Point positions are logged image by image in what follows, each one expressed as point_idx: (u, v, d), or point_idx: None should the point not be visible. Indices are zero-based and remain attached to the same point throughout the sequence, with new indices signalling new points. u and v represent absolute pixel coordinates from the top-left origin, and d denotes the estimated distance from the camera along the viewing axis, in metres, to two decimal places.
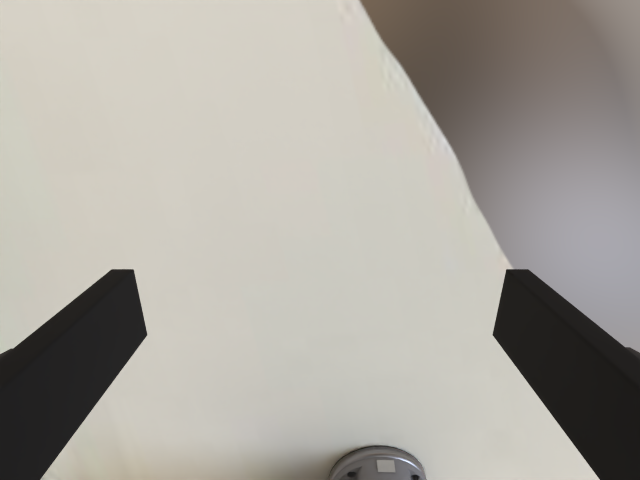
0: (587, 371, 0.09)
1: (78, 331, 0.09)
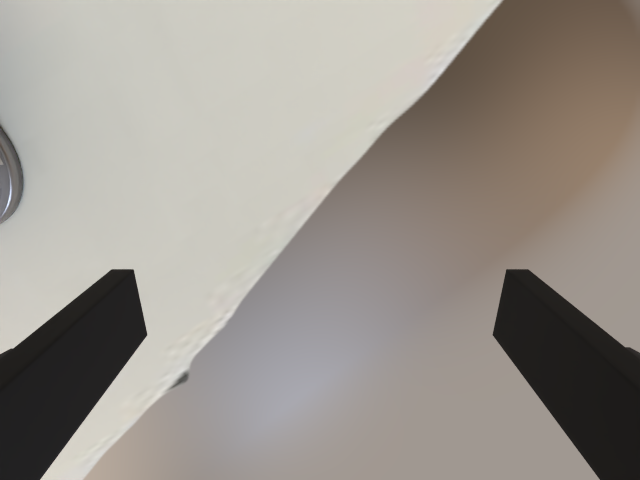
0: (587, 371, 0.09)
1: (78, 331, 0.09)
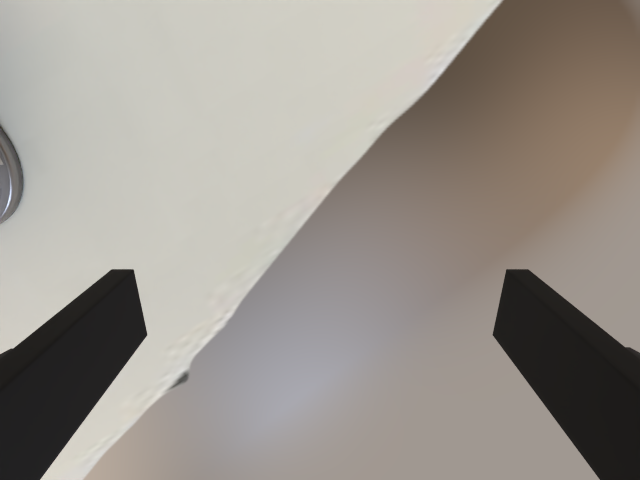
0: (587, 371, 0.09)
1: (78, 331, 0.09)
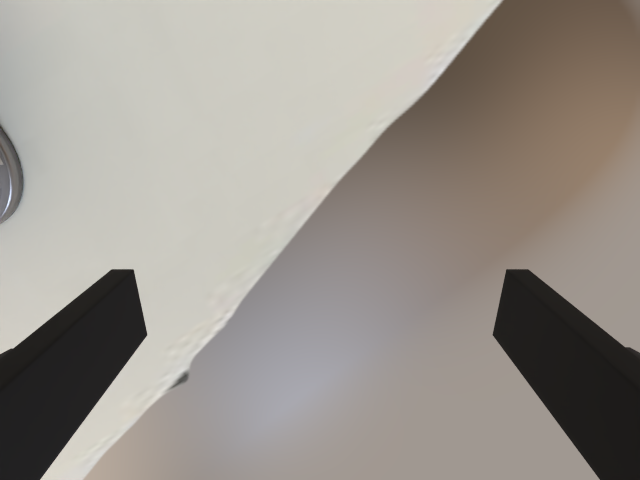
0: (587, 371, 0.09)
1: (78, 331, 0.09)
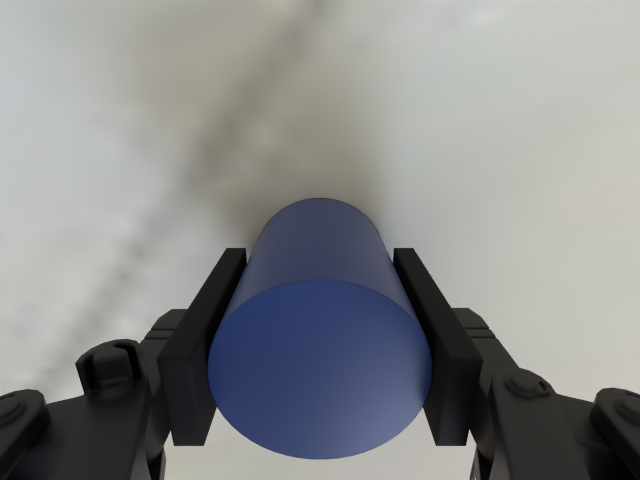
0: (420, 324, 0.10)
1: (227, 295, 0.11)
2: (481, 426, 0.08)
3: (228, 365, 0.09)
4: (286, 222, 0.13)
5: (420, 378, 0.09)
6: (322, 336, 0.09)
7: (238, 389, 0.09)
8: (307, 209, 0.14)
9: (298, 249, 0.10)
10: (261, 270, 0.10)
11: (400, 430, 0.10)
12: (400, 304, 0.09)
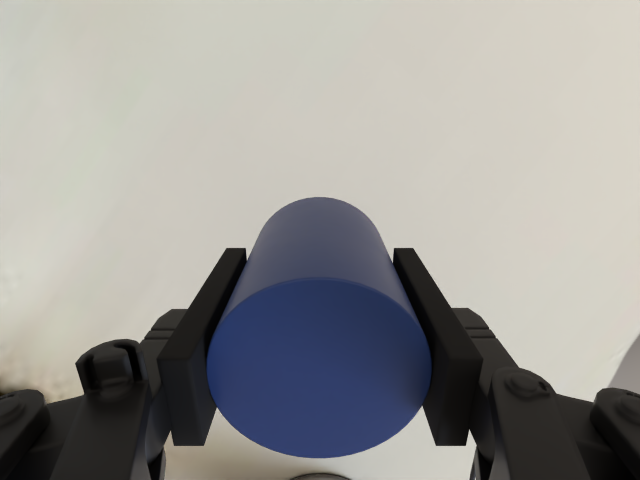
0: (420, 324, 0.10)
1: (227, 295, 0.11)
2: (481, 426, 0.08)
3: (227, 364, 0.09)
4: (285, 221, 0.13)
5: (419, 376, 0.09)
6: (320, 335, 0.09)
7: (237, 388, 0.09)
8: (306, 208, 0.14)
9: (297, 247, 0.10)
10: (260, 268, 0.10)
11: (400, 428, 0.10)
12: (399, 302, 0.09)
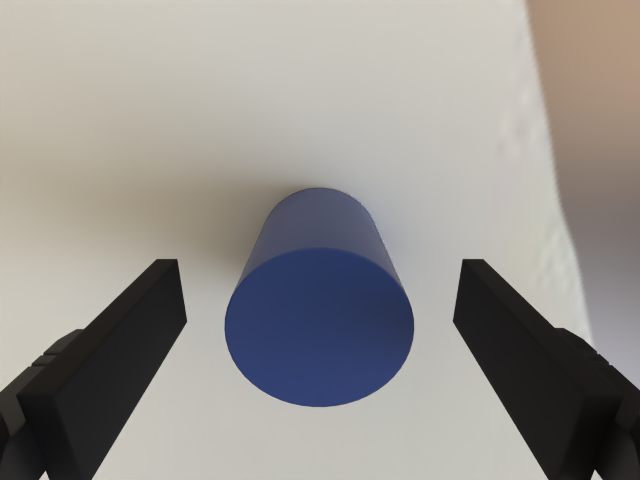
0: (519, 348, 0.09)
1: (138, 313, 0.10)
2: (618, 465, 0.07)
3: (242, 323, 0.11)
4: (290, 207, 0.15)
5: (403, 333, 0.11)
6: (321, 297, 0.11)
7: (250, 343, 0.11)
8: (308, 197, 0.15)
9: (301, 227, 0.12)
10: (270, 244, 0.11)
11: (388, 380, 0.12)
12: (386, 269, 0.10)
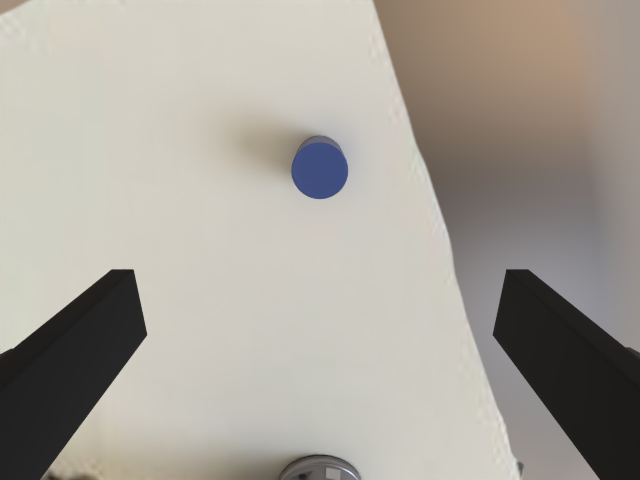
0: (587, 371, 0.09)
1: (78, 331, 0.09)
2: None
3: (297, 167, 0.37)
4: (309, 140, 0.41)
5: (344, 170, 0.37)
6: (320, 158, 0.37)
7: (299, 174, 0.37)
8: (315, 137, 0.41)
9: (314, 141, 0.38)
10: (304, 145, 0.38)
11: (341, 188, 0.38)
12: (338, 149, 0.36)
